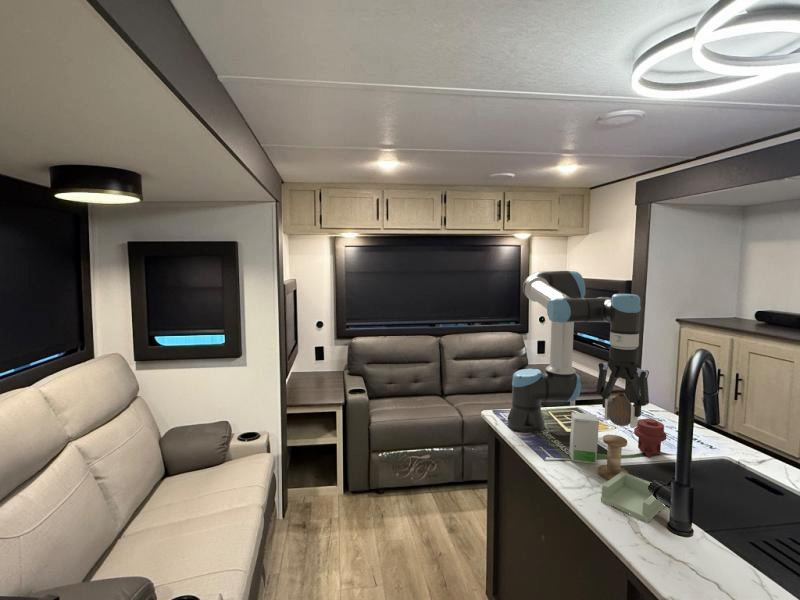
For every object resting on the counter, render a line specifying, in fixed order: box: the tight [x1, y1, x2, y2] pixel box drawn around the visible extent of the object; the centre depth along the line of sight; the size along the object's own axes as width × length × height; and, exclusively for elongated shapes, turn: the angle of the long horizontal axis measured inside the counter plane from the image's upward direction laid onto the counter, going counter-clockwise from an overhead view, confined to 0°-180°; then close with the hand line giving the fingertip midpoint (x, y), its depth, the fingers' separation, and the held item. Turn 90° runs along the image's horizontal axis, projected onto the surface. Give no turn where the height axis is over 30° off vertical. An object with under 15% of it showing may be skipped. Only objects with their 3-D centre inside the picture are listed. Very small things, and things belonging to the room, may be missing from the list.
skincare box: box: [568, 411, 600, 465], centre depth 150 cm, size 8×7×16 cm
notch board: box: [599, 472, 665, 523], centre depth 124 cm, size 13×13×5 cm
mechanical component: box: [633, 418, 667, 458], centre depth 153 cm, size 12×10×10 cm
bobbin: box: [597, 434, 630, 481], centre depth 139 cm, size 9×9×12 cm
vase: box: [608, 393, 633, 427], centre depth 127 cm, size 7×7×9 cm
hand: (620, 422), depth 127 cm, fingers closed on vase, 7 cm apart
